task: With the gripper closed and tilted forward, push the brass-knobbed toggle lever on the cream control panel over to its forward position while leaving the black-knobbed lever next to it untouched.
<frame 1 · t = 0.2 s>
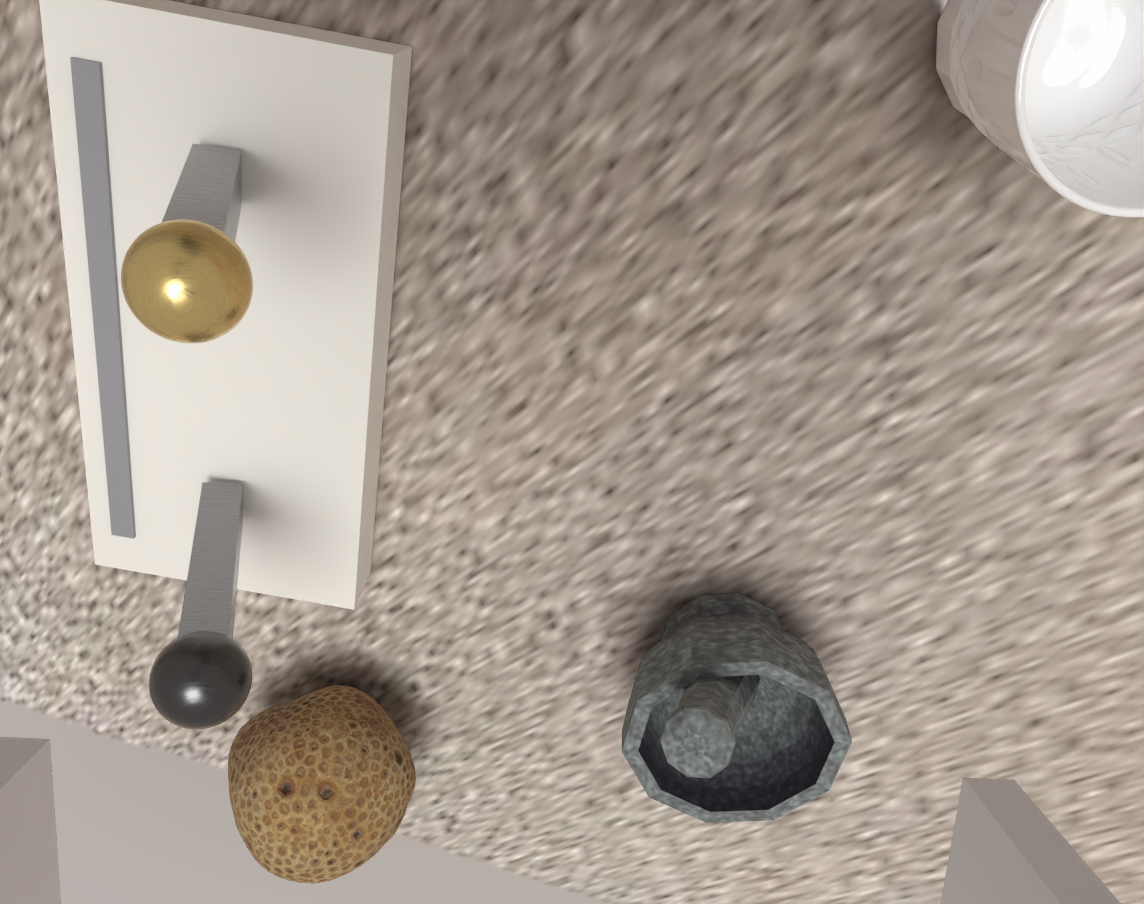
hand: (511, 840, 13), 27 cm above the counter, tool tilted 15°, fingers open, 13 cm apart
brass lever: (203, 228, 28), point 9 cm above the counter, hinge at -18.0°
white cup: (1030, 31, 33), on the counter
natural sponge: (354, 704, 50), on the counter
mortar and pestle: (717, 629, 46), on the counter
control panel: (249, 321, 40), on the counter
black lever: (212, 593, 35), point 9 cm above the counter, hinge at -18.0°
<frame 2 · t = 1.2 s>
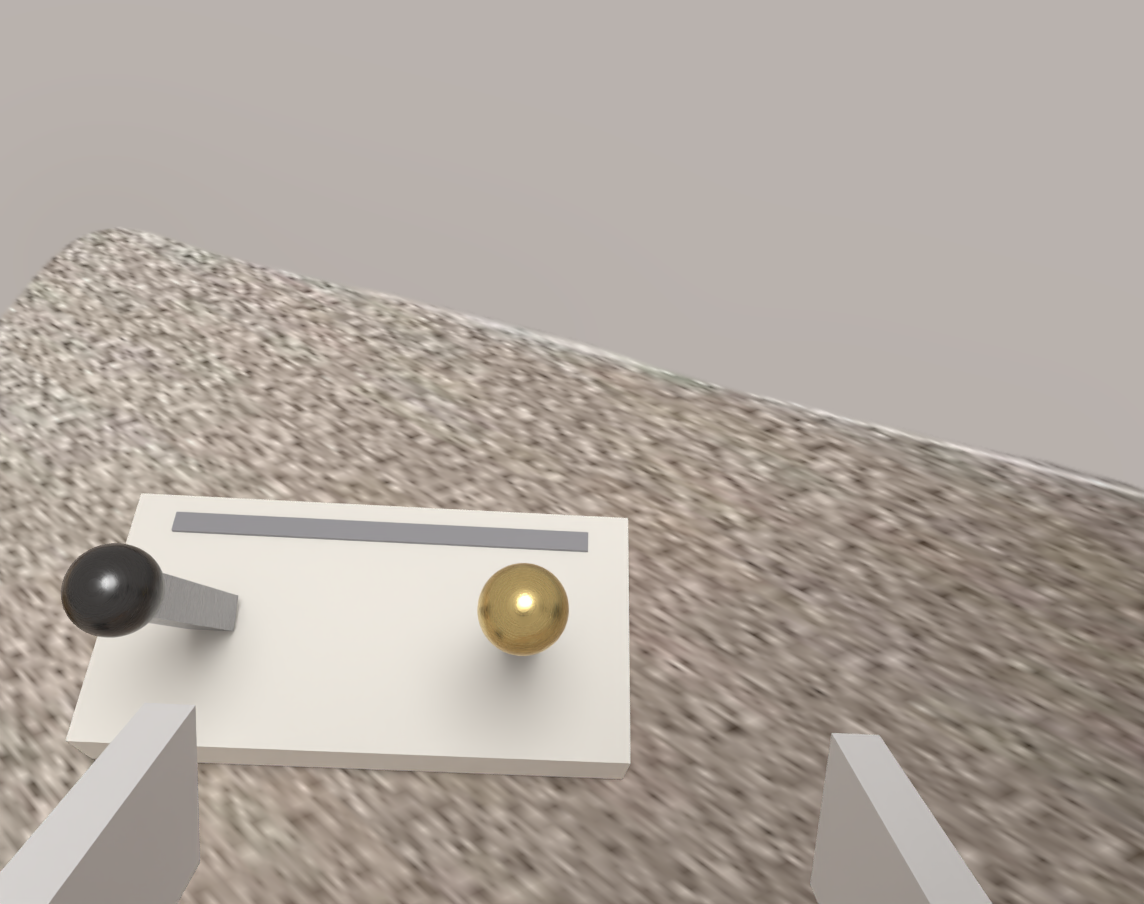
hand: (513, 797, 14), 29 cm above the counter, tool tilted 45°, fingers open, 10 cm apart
brass lever: (522, 617, 37), point 9 cm above the counter, hinge at -18.0°
control panel: (378, 642, 46), on the counter
black lever: (163, 601, 36), point 9 cm above the counter, hinge at -18.0°
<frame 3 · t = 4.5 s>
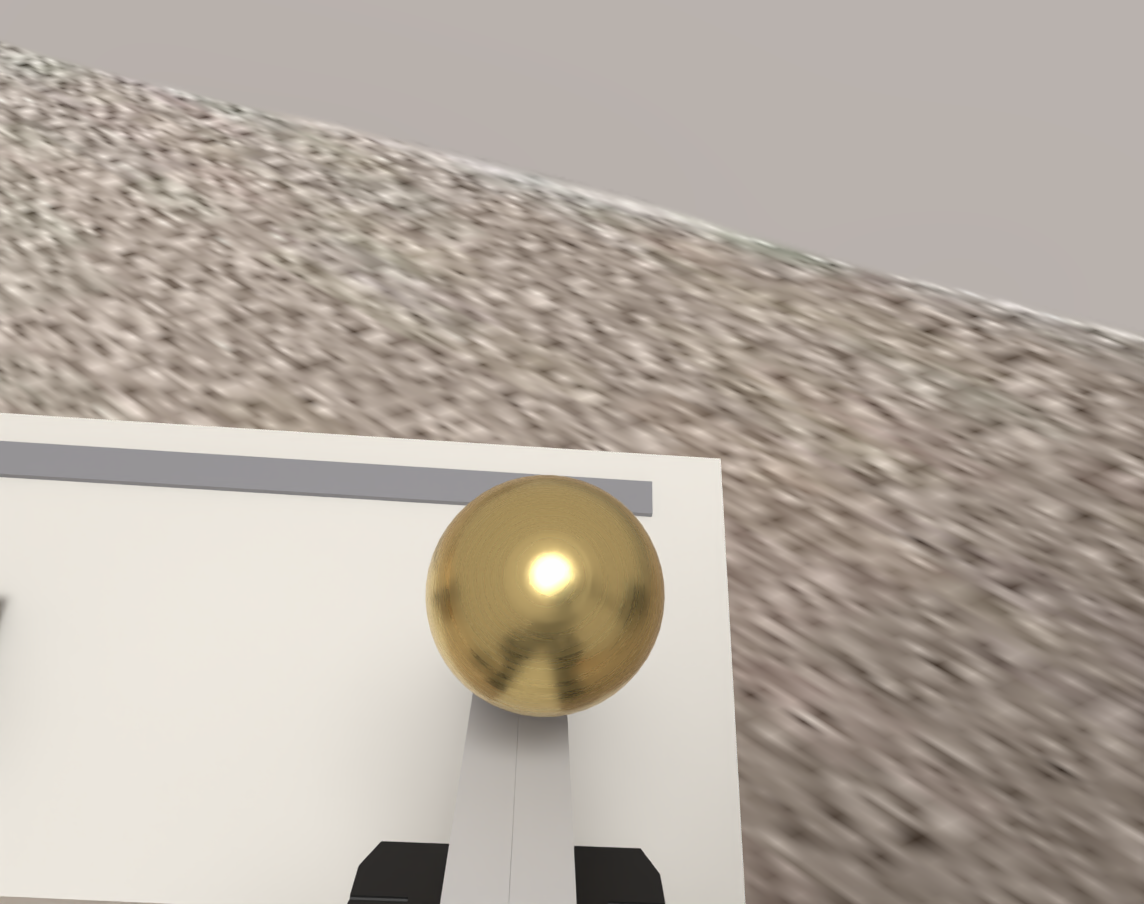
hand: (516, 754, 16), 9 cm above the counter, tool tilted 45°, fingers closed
brass lever: (538, 626, 17), point 9 cm above the counter, hinge at -15.0°, touching gripper
control panel: (276, 674, 26), on the counter
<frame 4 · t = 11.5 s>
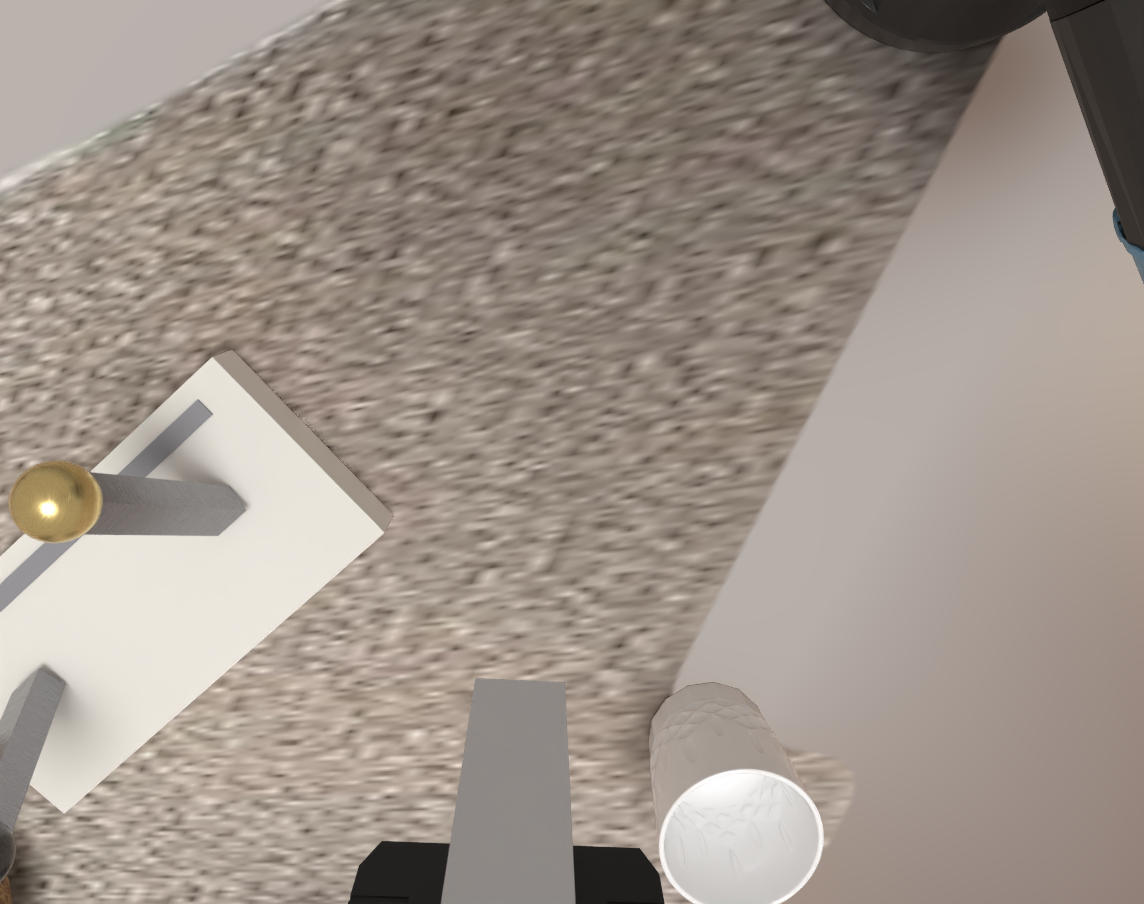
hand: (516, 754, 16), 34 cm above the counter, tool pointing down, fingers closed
brass lever: (138, 506, 41), point 9 cm above the counter, hinge at 24.4°
white cup: (705, 732, 54), on the counter
control panel: (157, 577, 51), on the counter
black lever: (4, 776, 43), point 9 cm above the counter, hinge at -18.0°
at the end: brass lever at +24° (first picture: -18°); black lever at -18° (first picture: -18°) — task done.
